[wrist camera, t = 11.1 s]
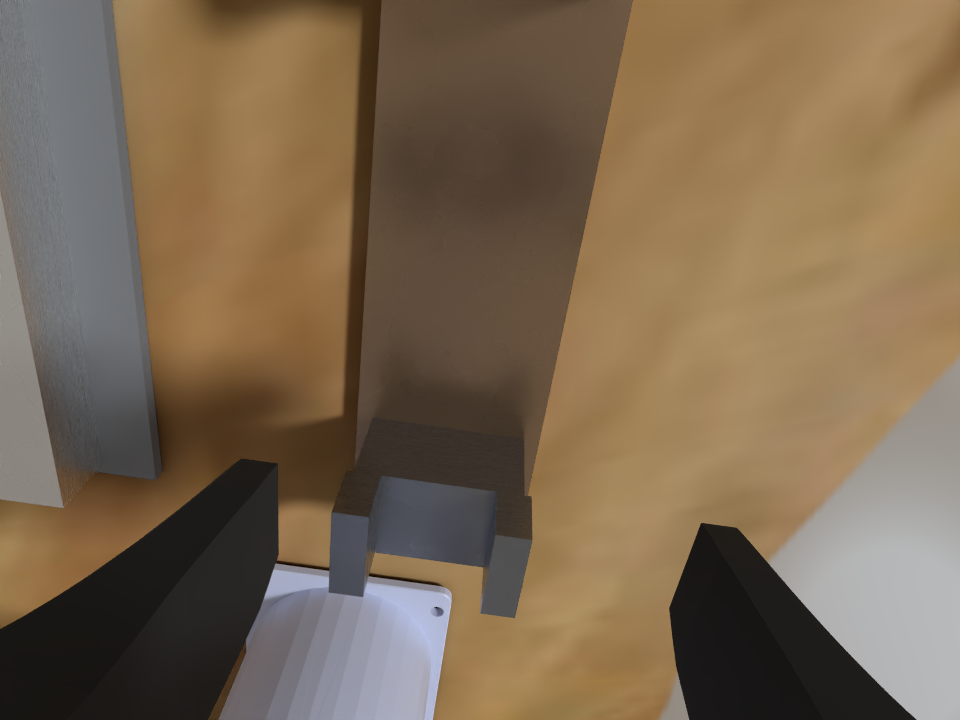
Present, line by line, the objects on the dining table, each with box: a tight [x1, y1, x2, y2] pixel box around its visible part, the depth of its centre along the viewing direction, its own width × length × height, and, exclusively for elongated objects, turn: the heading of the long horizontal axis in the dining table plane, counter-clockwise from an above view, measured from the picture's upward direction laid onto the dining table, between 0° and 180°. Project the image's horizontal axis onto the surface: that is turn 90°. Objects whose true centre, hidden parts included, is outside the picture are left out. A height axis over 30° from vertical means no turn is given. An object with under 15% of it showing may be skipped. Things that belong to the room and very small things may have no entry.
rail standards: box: [328, 0, 633, 618], centre depth 18 cm, size 21×6×5 cm, turn 172°
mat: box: [31, 0, 162, 480], centre depth 20 cm, size 21×6×1 cm, turn 172°
